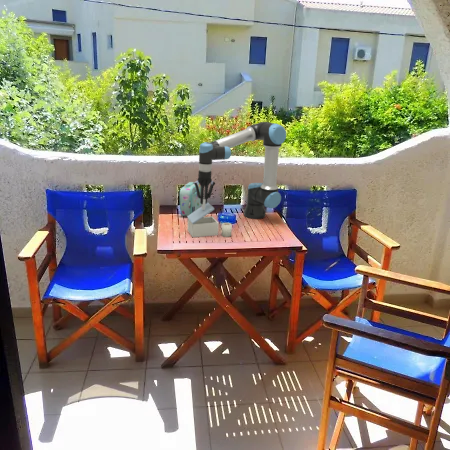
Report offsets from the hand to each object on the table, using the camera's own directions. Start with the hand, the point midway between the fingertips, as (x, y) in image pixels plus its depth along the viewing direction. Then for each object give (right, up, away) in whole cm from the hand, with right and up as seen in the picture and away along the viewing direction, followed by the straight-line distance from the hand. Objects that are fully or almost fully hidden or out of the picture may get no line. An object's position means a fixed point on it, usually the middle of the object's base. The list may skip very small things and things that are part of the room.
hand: (203, 209), depth 252 cm
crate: (-1, -14, +5) cm, 15 cm away
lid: (-1, -3, +1) cm, 3 cm away
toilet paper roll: (+14, -16, +3) cm, 21 cm away
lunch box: (-11, -1, +40) cm, 41 cm away
